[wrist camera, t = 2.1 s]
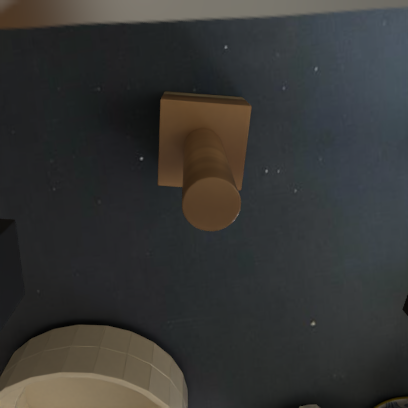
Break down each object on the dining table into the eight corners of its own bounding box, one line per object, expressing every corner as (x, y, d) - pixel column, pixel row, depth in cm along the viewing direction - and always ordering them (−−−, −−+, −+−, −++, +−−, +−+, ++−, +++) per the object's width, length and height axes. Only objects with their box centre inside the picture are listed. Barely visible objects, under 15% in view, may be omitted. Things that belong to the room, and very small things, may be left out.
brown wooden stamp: (164, 90, 28) (143, 133, 15) (242, 96, 29) (289, 142, 15) (161, 166, 31) (141, 261, 17) (234, 171, 31) (269, 266, 18)
